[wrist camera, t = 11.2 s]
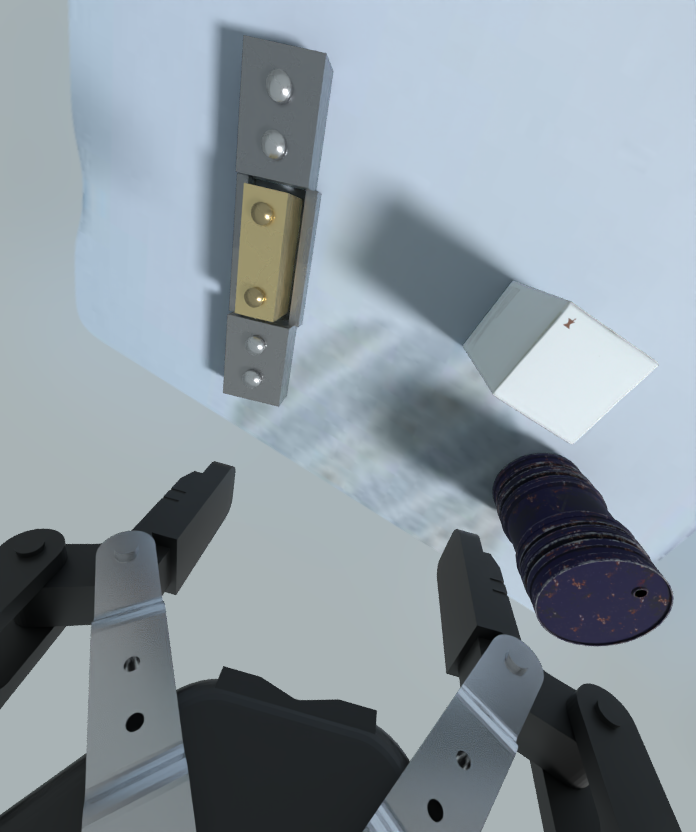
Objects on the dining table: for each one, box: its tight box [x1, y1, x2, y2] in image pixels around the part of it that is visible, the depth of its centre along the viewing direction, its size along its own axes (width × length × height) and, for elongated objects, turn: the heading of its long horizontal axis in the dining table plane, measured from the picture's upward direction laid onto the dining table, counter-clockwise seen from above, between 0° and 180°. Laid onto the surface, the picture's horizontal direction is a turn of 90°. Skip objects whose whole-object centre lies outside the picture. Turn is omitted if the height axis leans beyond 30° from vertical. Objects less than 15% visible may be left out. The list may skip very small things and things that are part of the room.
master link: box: [235, 183, 303, 322], centre depth 32 cm, size 10×4×6 cm, turn 168°
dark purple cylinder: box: [492, 453, 673, 646], centre depth 35 cm, size 10×10×15 cm
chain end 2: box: [223, 247, 311, 407], centre depth 36 cm, size 14×7×4 cm, turn 168°
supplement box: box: [463, 281, 658, 444], centre depth 29 cm, size 7×7×13 cm
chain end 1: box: [233, 35, 333, 265], centre depth 30 cm, size 14×7×4 cm, turn 168°
